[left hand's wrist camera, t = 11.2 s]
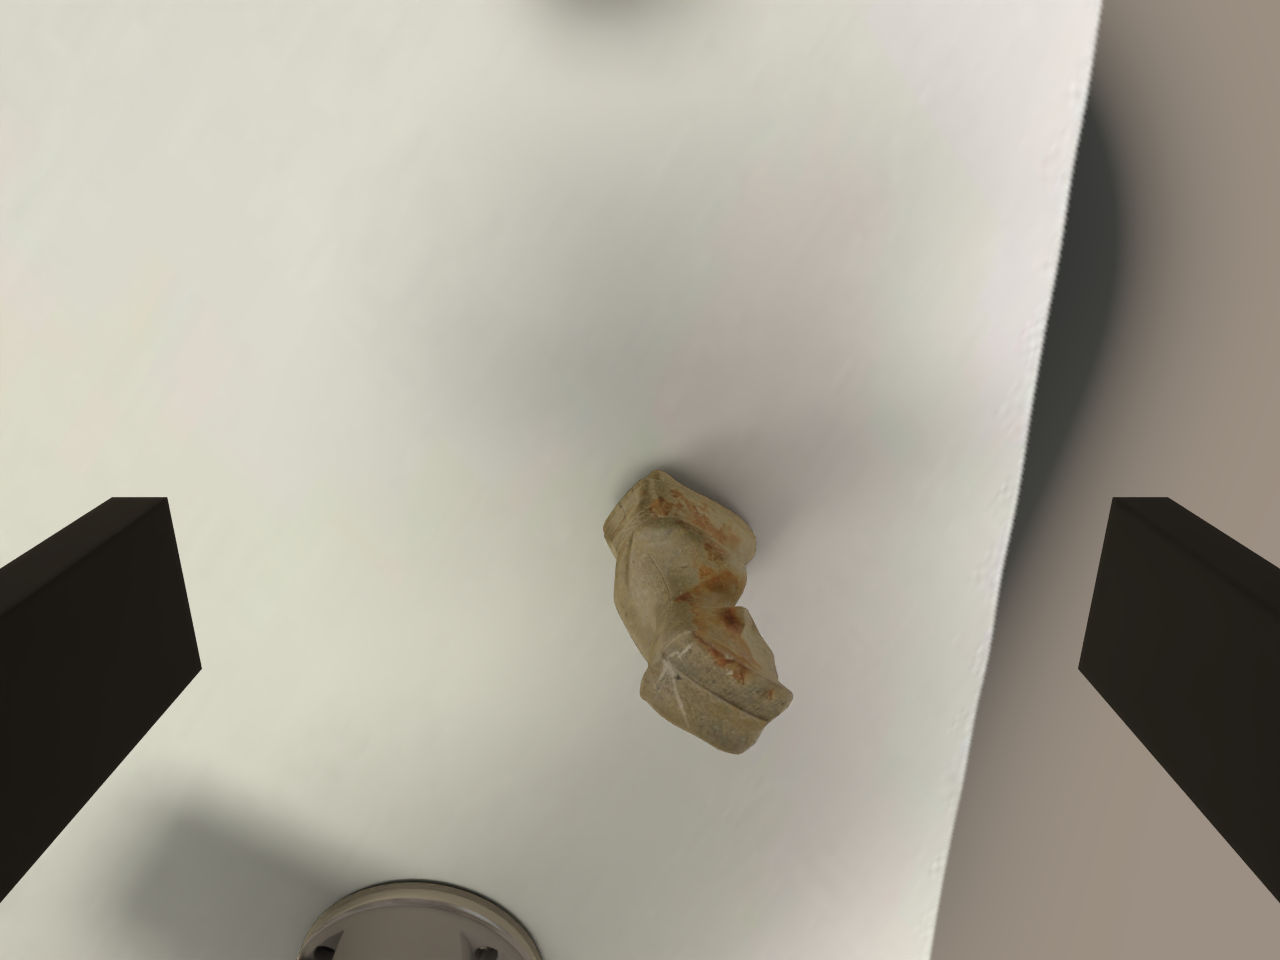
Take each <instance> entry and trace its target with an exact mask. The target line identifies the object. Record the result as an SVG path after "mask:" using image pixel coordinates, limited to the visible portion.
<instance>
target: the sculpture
mask: <svg viewBox="0 0 1280 960" xmlns="http://www.w3.org/2000/svg"><path fill="white" fill-rule="evenodd" d="M603 531H604V537H605V539H606V541H607V544H608V546H609V548H610V549H611V551H612V553H613V555H614V556H615V558H616V559H617V562H616V571H615V584H614V602H615V606H616V609H617V611H618V613H619V615H620V617H621V619H622V621H623V623H624V625H625V626H626V628H627V630H628V632H629V634H630V636H631V637H632V639H633V641H634V643H635V644H636V646H637V648H638V649H639V651H640V653H641V654H642V656H643V657H644V658H645V659H646V660H647V662H648V669H647V670H646V672H645V673H644V676H643V678H642V681H641V687H640V696H641V698H642V699H644V700H645V701H647V702H648V703H649V704H650V705H651V706H652V708H653V709H654V710H655V711H656V712H657V713H659V714H660V715H661V716H662V717H664V718H665V719H667V720H668V721H669V722H671V723H672V724H674V725H676V726H678V727H680V728H682V729H683V730H685V731H687V732H689V733H691V734H693V735H695V736H697V737H699V738H700V739H702V740H704V741H705V742H707V743H709V744H710V745H712V746H713V747H715V748H717V749H719V750H722V751H724V752H728V753H732V754H741V753H743V752H744V751H746V750H747V749H749V748H750V747H751V746H753V745H754V744H755V743H756V741H757V739H758V738H759V736H760V734H761V732H762V730H763V728H764V727H765V726H766V725H767V724H768V723H769V722H770V721H771V720H773V719H774V718H776V717H777V716H778V715H780V714H781V713H782V712H783V711H784V710H785V709H786V708H787V707H788V706H789V704H790V703H791V701H792V699H793V694H792V693H791V691H789V690H788V689H787V688H786V687H785V686H783V685H782V684H781V683H780V682H779V681H778V675H777V671H776V667H775V662H774V655H773V653H772V651H771V649H770V648H769V647H768V645H767V644H766V642H765V641H764V639H763V638H762V636H761V635H760V633H759V631H758V629H757V627H756V625H755V623H754V621H753V619H752V617H751V615H750V613H749V611H748V610H747V609H746V608H744V607H741V606H736V607H734V606H735V604H736V603H737V601H738V599H739V598H740V596H741V595H742V593H743V590H744V588H745V585H746V581H747V573H746V568H745V565H746V564H747V563H748V562H749V561H750V560H751V559H752V558H753V556H754V554H755V551H756V538H755V535H754V533H753V532H752V530H751V529H750V527H749V526H748V525H747V524H746V523H745V522H744V521H743V520H742V519H741V518H740V517H739V516H737V515H736V514H735V513H733V512H732V511H730V510H729V509H727V508H725V507H724V506H722V505H720V504H718V503H717V502H715V501H713V500H711V499H709V498H707V497H705V496H703V495H701V494H699V493H697V492H695V491H693V490H691V489H689V488H687V487H685V486H684V485H682V484H680V483H679V482H677V481H676V480H674V479H673V478H672V477H671V476H670V475H669V474H667V473H665V472H663V471H660V470H654V471H653V472H651V473H650V474H649V475H648V476H647V477H646V478H644V479H641V480H640V481H639V482H637V483H636V484H635V485H634V486H633V487H632V488H631V489H630V490H629V492H628V493H627V494H626V495H625V496H624V497H623V498H622V499H621V501H620V502H619V503H618V504H617V505H616V507H615V508H614V509H613V511H612V512H611V514H610V515H609V517H608V518H607V520H606V522H605V524H604V526H603Z"/></svg>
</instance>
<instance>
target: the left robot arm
mask: <svg viewBox="0 0 1280 960" xmlns="http://www.w3.org/2000/svg"><path fill="white" fill-rule="evenodd" d="M201 669H202V667H201V662H200V657H199V652H198V647H197V642H196V637H195V632H194V627H193V622H192V617H191V612H190V608H189V603H188V598H187V593H186V588H185V583H184V578H183V573H182V568H181V563H180V558H179V553H178V548H177V543H176V538H175V533H174V528H173V524H172V519H171V514H170V509H169V504H168V499H167V497H112V498H110V499H109V500H107V501H105V502H104V503H102V504H101V505H99V506H98V507H96V508H95V509H93V510H91V511H90V512H88V513H87V514H85V515H84V516H82V517H80V518H79V519H77V520H76V521H74V522H73V523H71V524H69V525H68V526H66V527H65V528H63V529H62V530H60V531H59V532H57V533H55V534H54V535H52V536H51V537H49V538H48V539H46V540H44V541H43V542H41V543H40V544H38V545H37V546H35V547H33V548H32V549H30V550H29V551H27V552H26V553H24V554H22V555H21V556H19V557H18V558H16V559H15V560H13V561H12V562H10V563H8V564H7V565H5V566H4V567H2V568H1V569H0V903H1V901H2V900H3V899H4V898H5V897H6V896H7V894H8V893H9V892H10V891H11V890H12V889H13V887H14V886H15V885H16V884H17V883H18V882H19V880H20V879H21V878H22V877H23V876H24V875H25V874H26V872H27V871H28V870H29V869H30V868H31V867H32V865H33V864H34V863H35V862H36V861H37V860H38V858H39V857H40V856H41V855H42V854H43V853H44V851H45V850H46V849H47V848H48V847H49V846H50V844H51V843H52V842H53V841H54V840H55V839H56V838H57V836H58V835H59V834H60V833H61V832H62V831H63V829H64V828H65V827H66V826H67V825H68V824H69V822H70V821H71V820H72V819H73V818H74V817H75V815H76V814H77V813H78V812H79V811H80V810H81V808H82V807H83V806H84V805H85V804H86V803H87V802H88V800H89V799H90V798H91V797H92V796H93V795H94V793H95V792H96V791H97V790H98V789H99V788H100V786H101V785H102V784H103V783H104V782H105V781H106V779H107V778H108V777H109V776H110V775H111V774H112V773H113V771H114V770H115V769H116V768H117V767H118V766H119V764H120V763H121V762H122V761H123V760H124V759H125V757H126V756H127V755H128V754H129V753H130V752H131V750H132V749H133V748H134V747H135V746H136V745H137V743H138V742H139V741H140V740H141V739H142V738H143V737H144V735H145V734H146V733H147V732H148V731H149V730H150V728H151V727H152V726H153V725H154V724H155V723H156V721H157V720H158V719H159V718H160V717H161V716H162V714H163V713H164V712H165V711H166V710H167V709H168V708H169V706H170V705H171V704H172V703H173V702H174V701H175V699H176V698H177V697H178V696H179V695H180V694H181V692H182V691H183V690H184V689H185V688H186V687H187V685H188V684H189V683H190V682H191V681H192V680H193V678H194V677H195V676H196V675H197V674H198V673H199V672H200V670H201ZM1078 669H1079V670H1080V672H1081V673H1082V674H1083V675H1084V676H1085V677H1086V678H1087V680H1088V681H1089V682H1090V683H1091V684H1092V685H1093V687H1094V688H1095V689H1096V690H1097V691H1098V692H1099V694H1100V695H1101V696H1102V697H1103V698H1104V699H1105V701H1106V702H1107V703H1108V704H1109V705H1110V706H1111V707H1112V709H1113V710H1114V711H1115V712H1116V713H1117V714H1118V716H1119V717H1120V718H1121V719H1122V720H1123V721H1124V723H1125V724H1126V725H1127V726H1128V727H1129V728H1130V730H1131V731H1132V732H1133V733H1134V734H1135V735H1136V737H1137V738H1138V739H1139V740H1140V741H1141V742H1142V743H1143V745H1144V746H1145V747H1146V748H1147V749H1148V750H1149V752H1150V753H1151V754H1152V755H1153V756H1154V757H1155V759H1156V760H1157V761H1158V762H1159V763H1160V764H1161V766H1162V767H1163V768H1164V769H1165V770H1166V771H1167V773H1168V774H1169V775H1170V776H1171V777H1172V778H1173V779H1174V781H1175V782H1176V783H1177V784H1178V785H1179V786H1180V788H1181V789H1182V790H1183V791H1184V792H1185V793H1186V795H1187V796H1188V797H1189V798H1190V799H1191V800H1192V802H1193V803H1194V804H1195V805H1196V806H1197V807H1198V808H1199V810H1200V811H1201V812H1202V813H1203V814H1204V815H1205V817H1206V818H1207V819H1208V820H1209V821H1210V822H1211V824H1212V825H1213V826H1214V827H1215V828H1216V829H1217V831H1218V832H1219V833H1220V834H1221V835H1222V836H1223V838H1224V839H1225V840H1226V841H1227V842H1228V843H1229V844H1230V846H1231V847H1232V848H1233V849H1234V850H1235V851H1236V853H1237V854H1238V855H1239V856H1240V857H1241V858H1242V860H1243V861H1244V862H1245V863H1246V864H1247V865H1248V867H1249V868H1250V869H1251V870H1252V871H1253V872H1254V874H1255V875H1256V876H1257V877H1258V878H1259V879H1260V880H1261V882H1262V883H1263V884H1264V885H1265V886H1266V887H1267V889H1268V890H1269V891H1270V892H1271V893H1272V894H1273V896H1274V897H1275V898H1276V899H1277V900H1278V901H1279V903H1280V569H1279V568H1278V567H1276V566H1275V565H1273V564H1272V563H1270V562H1268V561H1267V560H1265V559H1264V558H1262V557H1261V556H1259V555H1258V554H1256V553H1254V552H1253V551H1251V550H1250V549H1248V548H1247V547H1245V546H1243V545H1242V544H1240V543H1239V542H1237V541H1235V540H1234V539H1232V538H1231V537H1229V536H1228V535H1226V534H1225V533H1223V532H1221V531H1220V530H1218V529H1217V528H1215V527H1214V526H1212V525H1211V524H1209V523H1207V522H1206V521H1204V520H1203V519H1201V518H1200V517H1198V516H1196V515H1195V514H1193V513H1192V512H1190V511H1189V510H1187V509H1185V508H1184V507H1182V506H1181V505H1179V504H1178V503H1176V502H1175V501H1173V500H1171V499H1170V498H1168V497H1113V499H1112V504H1111V509H1110V514H1109V519H1108V524H1107V528H1106V533H1105V538H1104V543H1103V548H1102V553H1101V558H1100V563H1099V568H1098V573H1097V578H1096V583H1095V588H1094V593H1093V598H1092V603H1091V608H1090V612H1089V617H1088V622H1087V627H1086V632H1085V637H1084V642H1083V647H1082V652H1081V657H1080V662H1079V667H1078ZM296 960H541V957H540V955H539V952H538V950H537V948H536V946H535V944H534V942H533V941H532V939H531V938H530V936H529V935H528V933H527V932H526V931H525V930H524V929H523V928H522V926H521V925H520V924H519V923H518V922H517V921H516V920H514V919H513V918H512V917H511V916H510V915H509V914H507V913H506V912H505V911H503V910H502V909H500V908H499V907H497V906H496V905H494V904H493V903H491V902H489V901H487V900H485V899H483V898H481V897H479V896H476V895H474V894H472V893H469V892H466V891H463V890H460V889H457V888H453V887H449V886H444V885H439V884H431V883H419V882H404V883H392V884H385V885H380V886H375V887H371V888H368V889H364V890H362V891H359V892H357V893H354V894H352V895H350V896H348V897H346V898H344V899H342V900H340V901H339V902H337V903H336V904H334V905H333V906H331V907H330V908H329V909H328V910H326V911H325V912H324V913H323V914H322V915H321V916H320V917H319V918H318V919H317V921H316V922H315V923H314V924H313V926H312V927H311V929H310V930H309V932H308V934H307V936H306V938H305V940H304V943H303V945H302V947H301V950H300V952H299V954H298V957H297V959H296Z"/></svg>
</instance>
